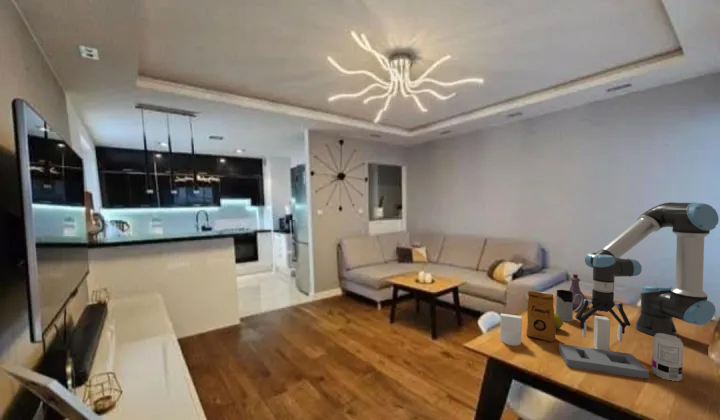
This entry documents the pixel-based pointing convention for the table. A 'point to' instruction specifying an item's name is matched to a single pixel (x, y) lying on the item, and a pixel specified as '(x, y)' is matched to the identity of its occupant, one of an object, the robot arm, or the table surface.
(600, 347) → the square peg
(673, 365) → the supplement can
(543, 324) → the coffee package
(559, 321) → the lemon
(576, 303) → the flask
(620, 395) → the table surface
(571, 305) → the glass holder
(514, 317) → the white piece
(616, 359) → the socket plate
